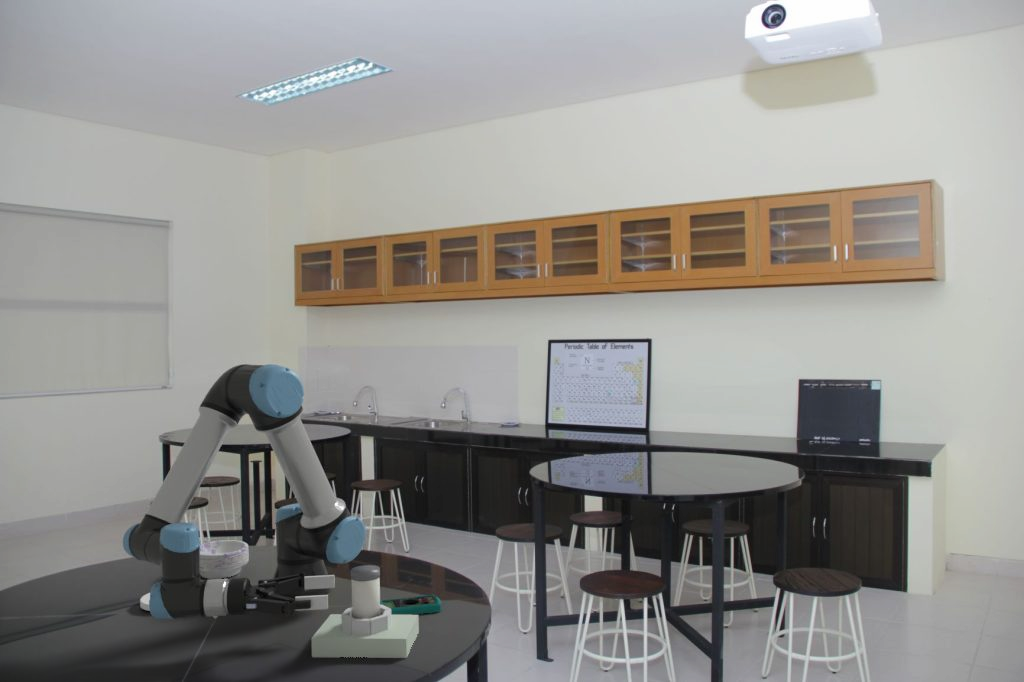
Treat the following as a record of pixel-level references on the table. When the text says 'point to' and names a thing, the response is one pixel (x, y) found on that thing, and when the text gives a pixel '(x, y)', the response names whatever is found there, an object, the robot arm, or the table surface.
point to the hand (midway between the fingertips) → (331, 591)
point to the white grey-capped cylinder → (365, 591)
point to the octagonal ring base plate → (366, 635)
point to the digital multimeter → (413, 605)
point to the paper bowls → (222, 558)
